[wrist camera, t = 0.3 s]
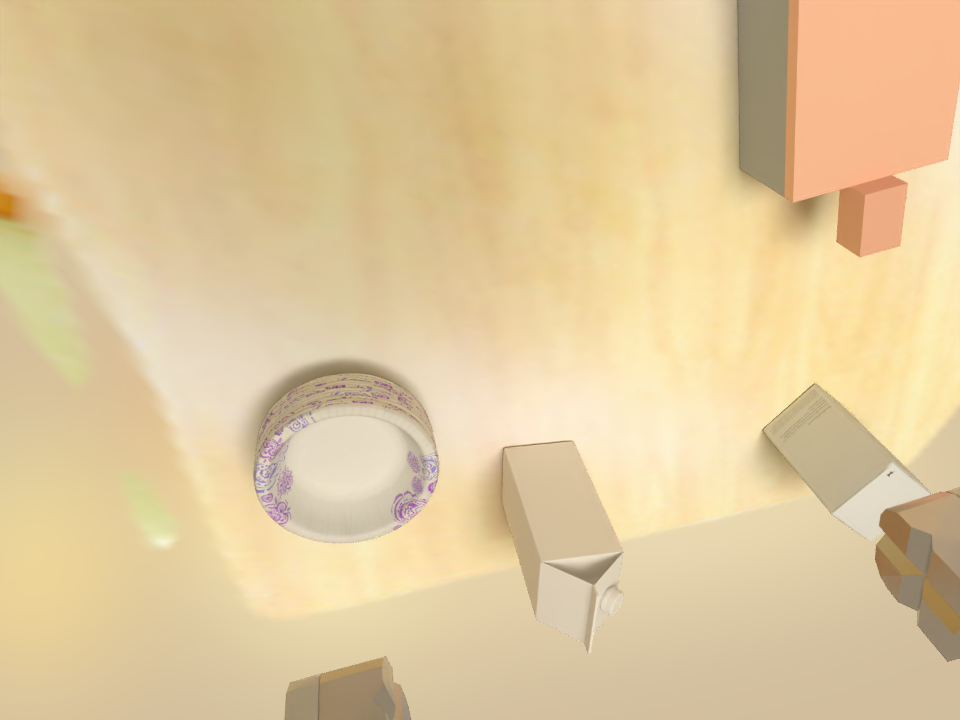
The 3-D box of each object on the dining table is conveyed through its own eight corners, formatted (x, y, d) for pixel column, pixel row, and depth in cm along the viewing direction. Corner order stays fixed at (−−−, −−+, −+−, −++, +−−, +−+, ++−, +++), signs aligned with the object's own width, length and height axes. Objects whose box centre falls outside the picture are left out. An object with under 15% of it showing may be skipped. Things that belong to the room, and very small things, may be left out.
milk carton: (501, 500, 75) (547, 660, 59) (503, 446, 71) (553, 601, 55) (567, 492, 76) (630, 648, 60) (573, 439, 72) (642, 589, 56)
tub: (737, -49, 51) (789, -43, 45) (898, -92, 51) (971, -91, 46) (739, 168, 60) (784, 197, 54) (877, 130, 60) (936, 154, 54)
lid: (789, -43, 45) (816, -40, 43) (971, -91, 46) (1008, -91, 43) (783, 256, 57) (804, 273, 54) (927, 216, 57) (955, 230, 55)
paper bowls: (431, 477, 72) (441, 536, 65) (272, 495, 69) (266, 557, 63) (427, 345, 64) (438, 396, 57) (247, 359, 61) (237, 415, 55)
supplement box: (759, 429, 76) (829, 514, 66) (815, 380, 74) (896, 460, 63) (797, 459, 79) (869, 544, 69) (852, 413, 77) (935, 494, 67)
